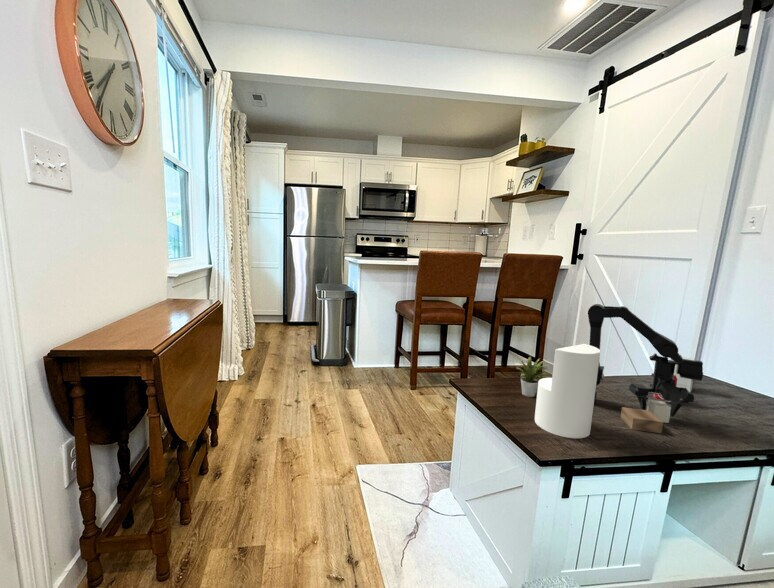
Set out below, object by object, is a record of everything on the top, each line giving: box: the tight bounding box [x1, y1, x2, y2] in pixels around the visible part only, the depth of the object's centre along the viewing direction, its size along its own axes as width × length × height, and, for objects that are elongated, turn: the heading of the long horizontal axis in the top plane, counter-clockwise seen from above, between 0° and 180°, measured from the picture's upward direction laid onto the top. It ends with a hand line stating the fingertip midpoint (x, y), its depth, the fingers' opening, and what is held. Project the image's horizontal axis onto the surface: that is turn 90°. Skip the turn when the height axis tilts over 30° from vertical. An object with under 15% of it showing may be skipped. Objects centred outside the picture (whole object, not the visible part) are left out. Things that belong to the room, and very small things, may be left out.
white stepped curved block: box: [534, 343, 601, 439], centre depth 120 cm, size 17×17×28 cm
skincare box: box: [670, 356, 696, 393], centre depth 161 cm, size 8×6×15 cm
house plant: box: [515, 355, 552, 398], centre depth 145 cm, size 14×14×16 cm
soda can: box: [653, 373, 677, 404], centre depth 147 cm, size 7×7×12 cm
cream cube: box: [646, 399, 671, 424], centre depth 130 cm, size 5×5×6 cm
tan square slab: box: [620, 406, 664, 434], centre depth 124 cm, size 9×9×4 cm
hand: (657, 414), depth 130 cm, fingers open, 9 cm apart
